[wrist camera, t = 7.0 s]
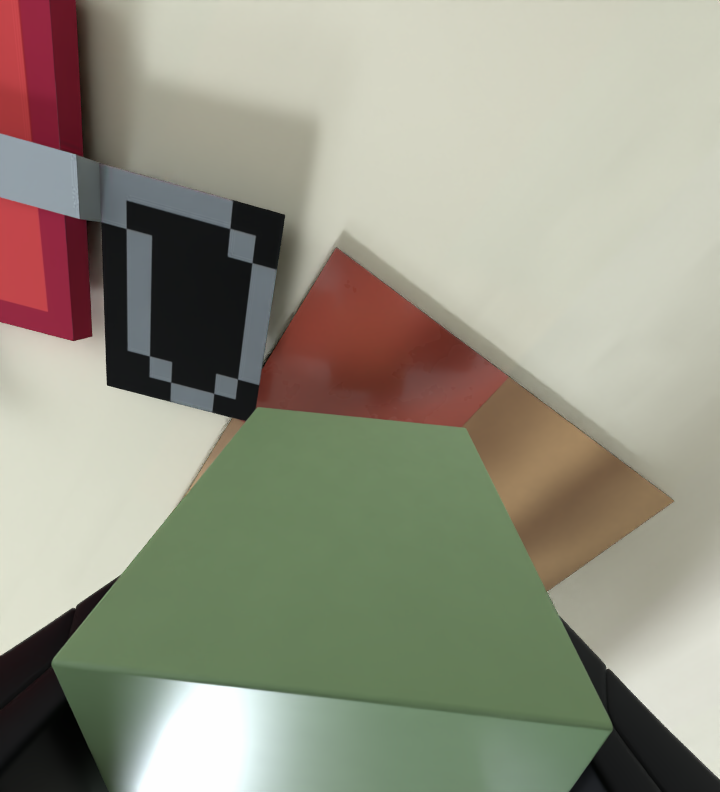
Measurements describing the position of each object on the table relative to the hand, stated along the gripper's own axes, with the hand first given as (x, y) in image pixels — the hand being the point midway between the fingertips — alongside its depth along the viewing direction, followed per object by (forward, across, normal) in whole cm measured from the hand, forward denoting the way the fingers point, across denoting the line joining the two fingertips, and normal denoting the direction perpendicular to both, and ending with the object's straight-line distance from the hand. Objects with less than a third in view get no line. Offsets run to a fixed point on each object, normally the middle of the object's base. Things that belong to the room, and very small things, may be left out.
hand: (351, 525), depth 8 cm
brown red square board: (+8, -2, +7) cm, 11 cm away
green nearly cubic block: (+1, 0, 0) cm, 1 cm away
